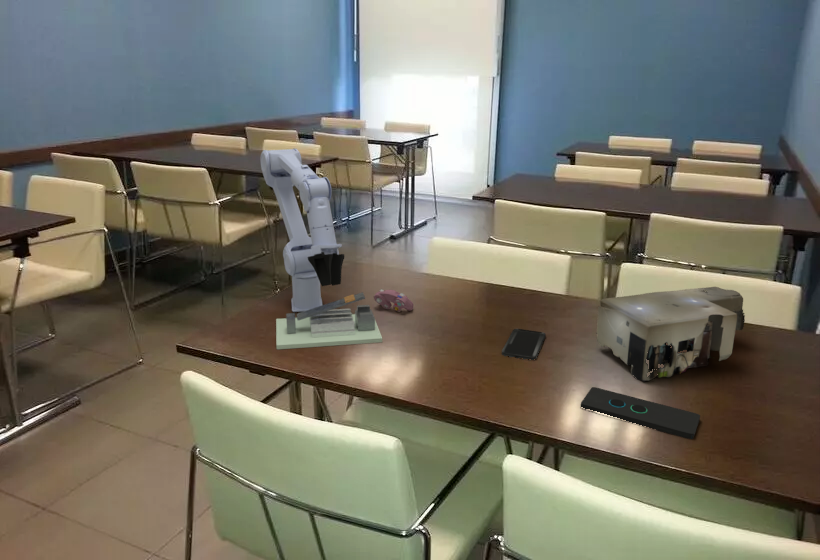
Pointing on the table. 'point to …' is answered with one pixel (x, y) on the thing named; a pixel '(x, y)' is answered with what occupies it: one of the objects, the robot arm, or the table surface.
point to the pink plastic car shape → (393, 300)
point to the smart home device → (642, 412)
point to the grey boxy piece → (670, 328)
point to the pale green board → (306, 340)
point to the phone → (524, 344)
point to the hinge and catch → (362, 320)
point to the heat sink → (332, 323)
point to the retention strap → (330, 306)
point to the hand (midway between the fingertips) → (331, 285)
